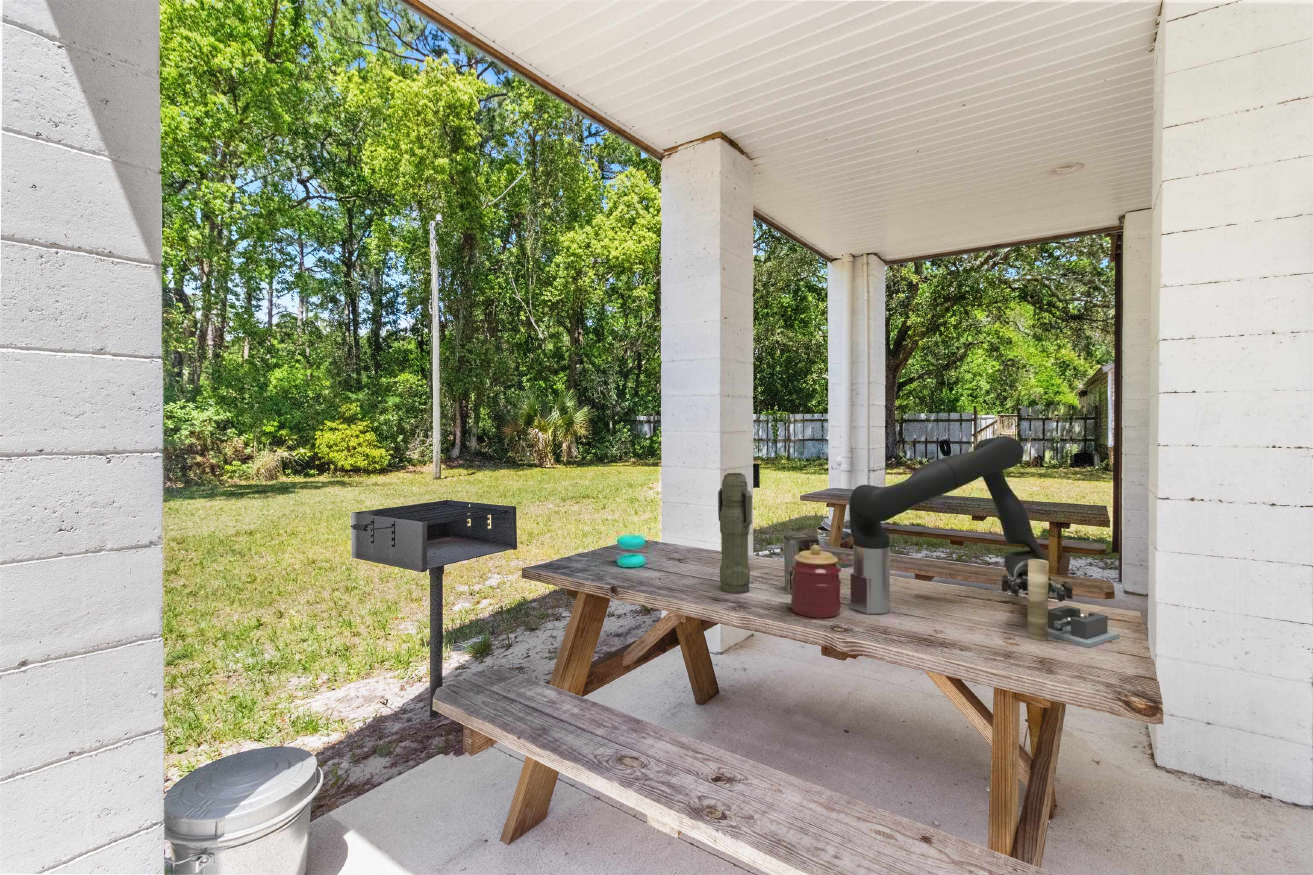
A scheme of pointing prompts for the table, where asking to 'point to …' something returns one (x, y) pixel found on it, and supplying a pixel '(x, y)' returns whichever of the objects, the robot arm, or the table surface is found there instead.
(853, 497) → the robot arm
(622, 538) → the donuts
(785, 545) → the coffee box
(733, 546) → the thermos
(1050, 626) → the band socket
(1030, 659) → the table surface
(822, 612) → the canister
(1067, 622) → the plunger
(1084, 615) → the plunger
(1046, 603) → the birch dowel
